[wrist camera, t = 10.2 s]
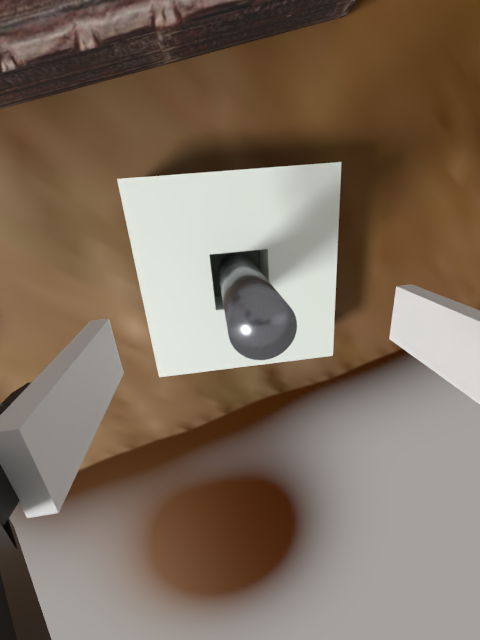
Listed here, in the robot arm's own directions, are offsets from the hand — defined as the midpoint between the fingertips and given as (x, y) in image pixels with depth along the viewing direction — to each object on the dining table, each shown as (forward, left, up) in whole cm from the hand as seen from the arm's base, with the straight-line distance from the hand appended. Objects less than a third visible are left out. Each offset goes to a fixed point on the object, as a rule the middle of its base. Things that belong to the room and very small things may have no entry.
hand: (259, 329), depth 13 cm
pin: (0, 0, -15) cm, 15 cm away
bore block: (0, 0, -16) cm, 16 cm away
